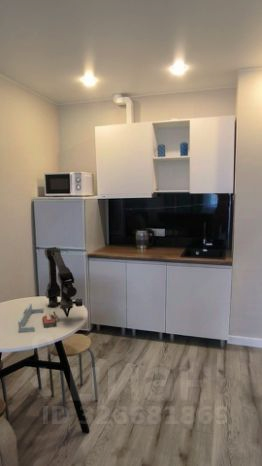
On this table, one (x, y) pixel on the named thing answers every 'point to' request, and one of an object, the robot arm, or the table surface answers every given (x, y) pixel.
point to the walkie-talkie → (50, 320)
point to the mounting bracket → (25, 318)
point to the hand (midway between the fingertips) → (67, 317)
